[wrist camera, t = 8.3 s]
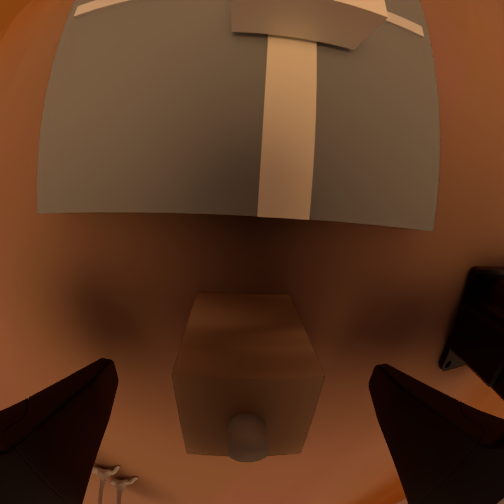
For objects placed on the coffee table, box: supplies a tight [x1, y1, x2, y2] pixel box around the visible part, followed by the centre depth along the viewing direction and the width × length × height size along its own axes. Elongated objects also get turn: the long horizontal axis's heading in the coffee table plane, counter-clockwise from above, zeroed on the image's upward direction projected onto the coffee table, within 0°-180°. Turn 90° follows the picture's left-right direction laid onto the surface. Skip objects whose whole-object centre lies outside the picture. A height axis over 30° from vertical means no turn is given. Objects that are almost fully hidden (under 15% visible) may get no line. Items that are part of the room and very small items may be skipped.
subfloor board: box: [37, 0, 440, 231], centre depth 7 cm, size 15×12×2 cm
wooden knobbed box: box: [172, 291, 325, 462], centre depth 8 cm, size 4×4×6 cm
